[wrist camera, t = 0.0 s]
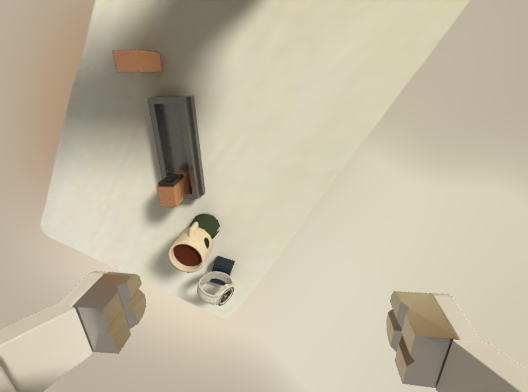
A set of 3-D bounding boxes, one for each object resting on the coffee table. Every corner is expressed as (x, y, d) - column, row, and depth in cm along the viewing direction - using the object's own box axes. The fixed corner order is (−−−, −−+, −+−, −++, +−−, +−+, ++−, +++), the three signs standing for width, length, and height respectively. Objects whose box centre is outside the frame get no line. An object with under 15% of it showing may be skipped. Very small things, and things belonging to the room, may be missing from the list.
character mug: (219, 246, 68) (201, 284, 56) (190, 240, 68) (166, 275, 56) (224, 206, 63) (206, 238, 51) (193, 199, 63) (168, 229, 52)
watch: (237, 280, 71) (226, 314, 61) (206, 270, 71) (190, 303, 61) (242, 263, 69) (232, 296, 59) (210, 253, 69) (195, 284, 59)
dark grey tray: (154, 96, 55) (126, 101, 46) (193, 95, 54) (172, 100, 45) (170, 191, 63) (149, 210, 55) (205, 192, 62) (189, 212, 54)
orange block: (159, 52, 52) (136, 49, 44) (162, 71, 53) (140, 71, 46) (135, 53, 52) (108, 50, 45) (139, 72, 54) (113, 72, 46)
